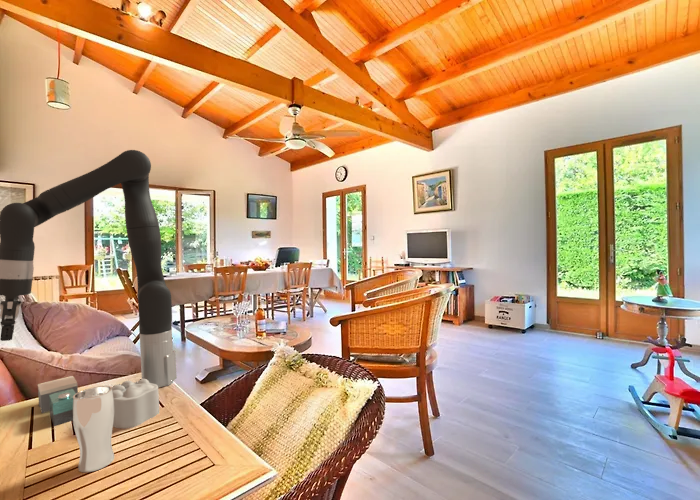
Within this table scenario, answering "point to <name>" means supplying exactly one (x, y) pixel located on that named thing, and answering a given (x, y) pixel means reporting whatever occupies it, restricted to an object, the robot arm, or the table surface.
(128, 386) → the lumpy-topped squat cylinder
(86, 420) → the beer glass
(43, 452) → the table surface
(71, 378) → the stand
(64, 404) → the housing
